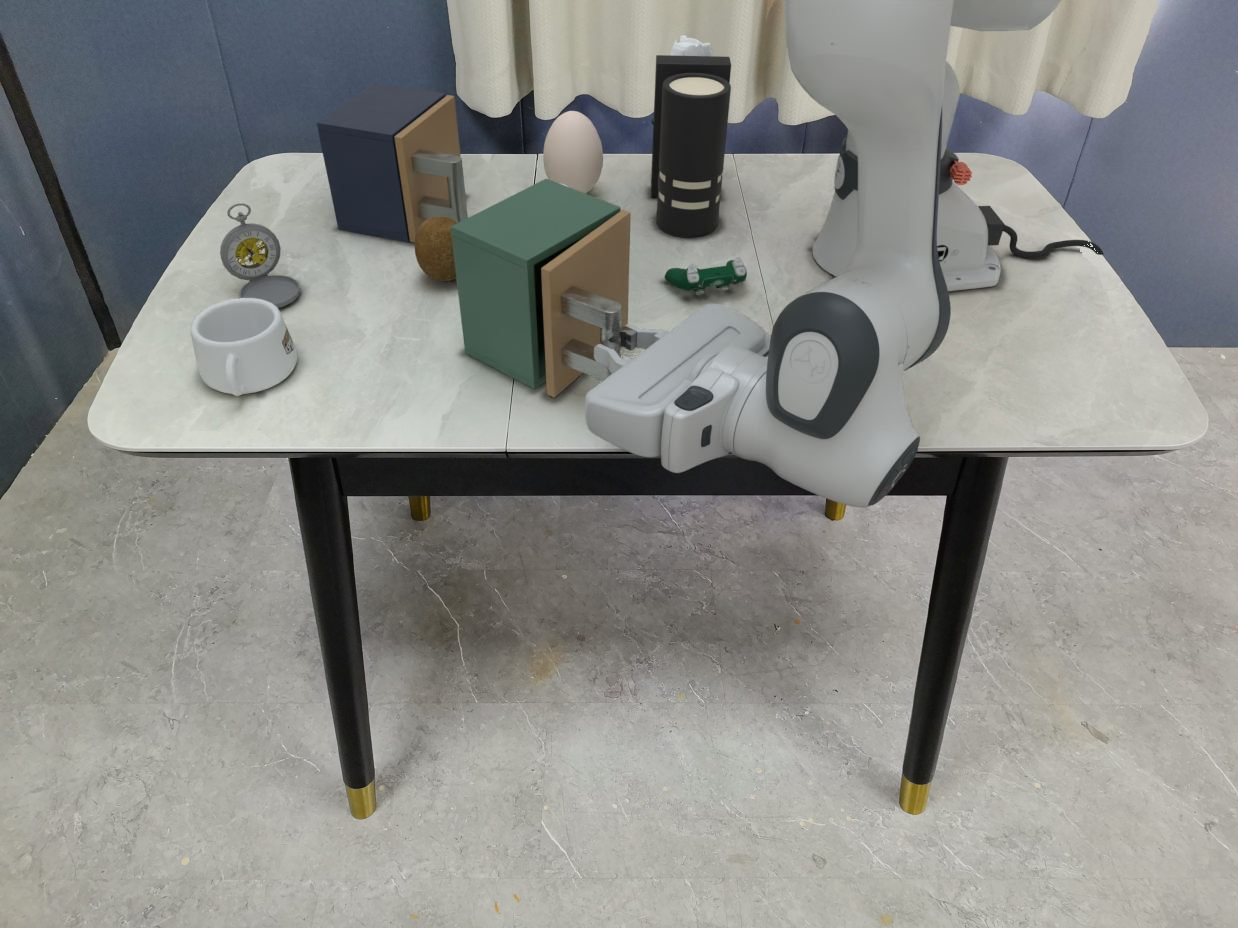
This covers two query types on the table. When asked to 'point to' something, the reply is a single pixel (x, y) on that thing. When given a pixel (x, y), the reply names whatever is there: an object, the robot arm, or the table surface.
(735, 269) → the gaming controller
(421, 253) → the fruit
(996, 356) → the table surface
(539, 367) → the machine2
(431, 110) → the machine door
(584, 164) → the egg
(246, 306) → the mug
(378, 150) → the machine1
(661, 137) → the light fixture
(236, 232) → the pocket watch
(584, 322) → the machine door
